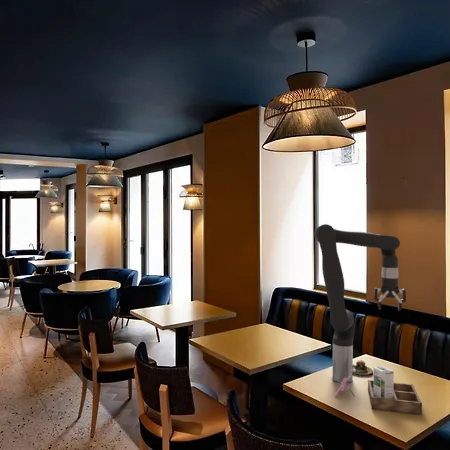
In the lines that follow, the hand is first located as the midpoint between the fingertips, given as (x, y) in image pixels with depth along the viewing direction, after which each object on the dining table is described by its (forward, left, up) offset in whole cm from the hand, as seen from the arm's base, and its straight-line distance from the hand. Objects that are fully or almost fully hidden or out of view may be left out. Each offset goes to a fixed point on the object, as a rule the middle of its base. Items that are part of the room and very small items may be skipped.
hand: (389, 310), depth 191 cm
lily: (-22, -25, -33) cm, 47 cm away
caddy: (-2, -27, -33) cm, 43 cm away
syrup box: (-6, -31, -32) cm, 46 cm away
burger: (-13, +4, -34) cm, 36 cm away
